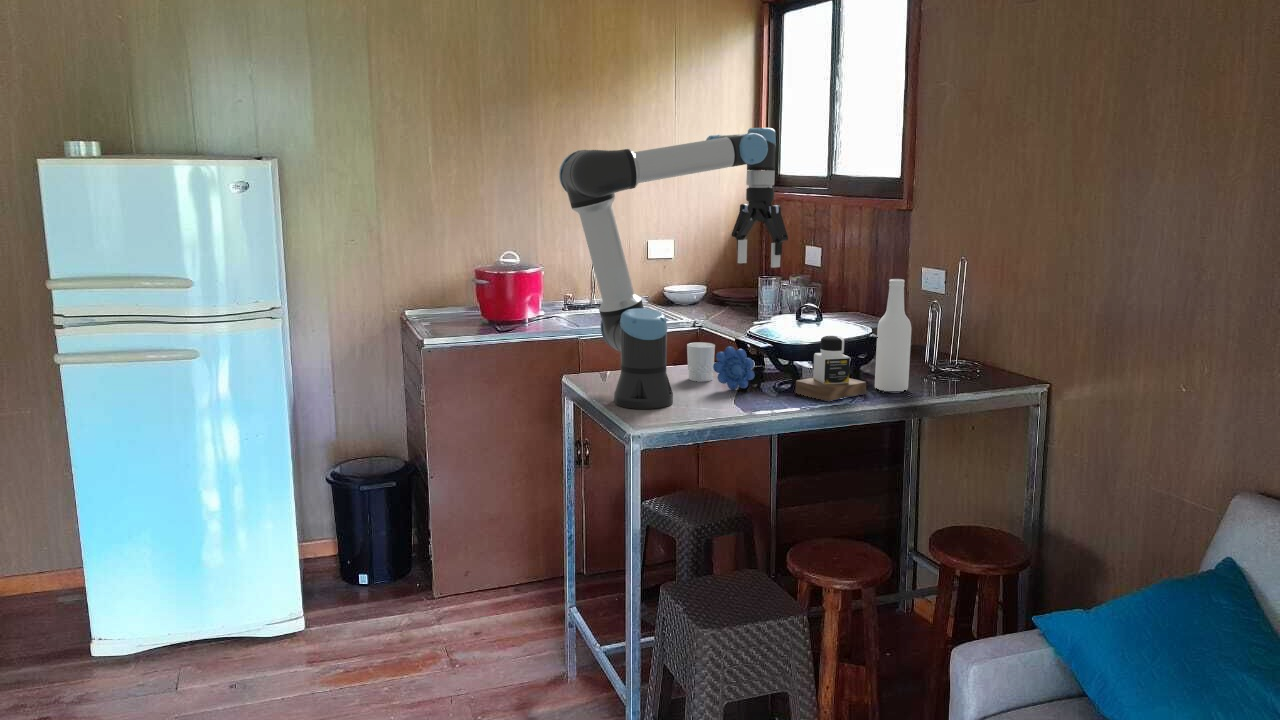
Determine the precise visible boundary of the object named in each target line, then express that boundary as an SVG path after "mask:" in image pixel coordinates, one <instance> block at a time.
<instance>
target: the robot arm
mask: <svg viewBox="0 0 1280 720" xmlns="http://www.w3.org/2000/svg"><path fill="white" fill-rule="evenodd" d="M776 137H777V136H776V130H775V129H774V128H772V127H751V128H749V129H748V130H747V133H741V134H727V135H725V134H713V135H708V137H707V138H706V140H700V141H694V142H689V143H682V144H681V143H680V144H676V145H669V146H662V147H657V148H652V149H645V150H640V151H632V150H631V149H630V148H625V149H619V150H618V149H617V150H615V149H614V150H610V149H609V150H606V149H605V150H604V149H603V150H601V149H581V150H579V149H577V150H576V151H574V152H572V153H570V154H568V155H567V156H566V157H565V159H564V160H563V161H562V163H561V165H560V167H559V172H558V174H559V176H558V178H559V182H560V184H561V186H562V188H563V190H564V191H565V192H566V193H567V196H568V201H569V203H570V207H571V210H573V211H575V212H576V213H577V214H578V215H579V218H580V222H581V226H582V230H583V232H584V237H585V240H586V245H587V248H588V252H589V255H590V259H591V262H592V263H591V264H592V267H593V270H594V274H595V277H596V281H597V284H598V289H599V293H600V297H601V300H602V302H601V304H600V306H599V308H598V311H599V314H600V318H601V319H600V320H601V321H600V325H599V326H600V333H601V336H602V338H603V340H604V341H605V343H606V344H607V345H608V346H609V347H611V348H612V349H614V350H616V351H617V352H620V375H619V378H618V380H617V384H616V386H615V387H616V388H615V390H614V394H613V404H615V405H616V406H618V407H622V408H626V409H635V410H652V409H653V410H654V409H661V408H666V407H668V406H671V405H672V404H673V403H674V393H673V390H672V386H671V383H670V380H669V377H668V374H667V350H668V349H667V346H668V345H667V344H668V343H667V342H668V323H667V318H666V315H665V314H664V313H662V312H661V311H659V310H656V309H651V308H644V304H643V299H642V297H641V296H639V295H637V294H636V293H635V292H634V288H633V284H632V279H631V277H630V271H629V268H628V264H627V261H626V256H625V253H624V249H623V248H624V247H623V245H622V241H621V238H620V234H619V230H618V225H617V223H616V217H615V214H614V210H613V206H612V204H613V203H614V201H615V199H616V194H615V193H620V192H622V191H627V190H632V189H636V188H637V186H638V185H639V184H641V183H642V184H643V183H648V182H653V181H660V180H664V179H670V178H675V177H683V176H686V175H692V174H699V173H703V172H710V171H714V170H722V169H727V168H731V167H733V168H734V167H739V166H744V165H746V186H748V187H746V189H745V190H746V192H745V197H746V201H747V202H748V203H741V204H740V205H739V212H738V215H737V218H736V221H735V224H734V226H733V229H732V232H731V237H732V238H735V240H736V251H737V264H747V262H748V261H747V259H748V238H747V235H748V234H749V233H750V231H751V229H752V228H753V226H754V224H756V222H759V223H760V222H761V223H762V224H764V226H765V228H766V230H767V232H768V233H769V235H770V237H771V239H772V242H771V245H770V247H771V248H770V250H771V252H770V268H775V269H776V268H781V255H782V254H783V251H782V250H783V243H784V242H786V241H787V242H788V241H789V235H788V233H787V229H786V227H785V223H784V220H783V216H782V208H781V205H777V204H776V205H775V204H774V205H773V204H772V202H774V200H775V188H774V187H773V186H775V179H776V178H775V177H776V176H775V174H776V173H775V172H776V170H775V169H776V147H777V142H776V141H777V139H776Z"/></svg>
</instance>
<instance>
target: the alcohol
mask: <svg viewBox="0 0 1280 720" xmlns="http://www.w3.org/2000/svg"><path fill="white" fill-rule="evenodd" d="M888 282H889V284H888V288H889V289H888V297H887V303H886V311H885V313H884V314H883V316H881V318H880V319H879V320H878V324H877V331H876V335H877V336H876V351H875V369H874V370H875V371H874V374H875V375H874V388H875V389H876V388H877V389H879V390H884V391H904V390H906V391H907V390H908V389H909V380H910V379H909V378H910V377H909V376H910V360H911V347H912V346H911V345H912V343H911V342H912V341H911V340H912V330H913V329H912V324H911V321H910V319H909V318H908V316H907V315H906V312H905V283H906V282H905V279H902V278H890V279H889V280H888ZM877 337H878V338H877Z"/></svg>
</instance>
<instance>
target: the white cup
mask: <svg viewBox="0 0 1280 720" xmlns="http://www.w3.org/2000/svg"><path fill="white" fill-rule="evenodd" d="M686 350H687V351H686V353H687V354H686V355H687V357H686V358H687V370H688V380H689V381H692V382H696V381H697V382H699V383H701V382H702V383H704V382H705V383H706V382H710V381H713V377H714V376H713V373H714V368H713V365H714V363H715V350H716V344H714V343H711V342H701V341H700V342H699V341H698V342H690V343H687V344H686Z"/></svg>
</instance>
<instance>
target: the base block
mask: <svg viewBox="0 0 1280 720" xmlns="http://www.w3.org/2000/svg"><path fill="white" fill-rule="evenodd" d="M796 393H797V394H796ZM863 393H866V394H867V382H866V381H863V380H860V379H856V378H855V379H854V378H850V377H849V383H843V384H826V385H824V384H822V383H820V382H818V381H816V380H814V379H813V377H808V378H802V379H797V380H795V394H796V395H800V394H801V395H800V396H803V395H804V396H805V397H807V396H808V398H811V397H812V399H814V398H816V400H818V399H821V400H820V401H822V400H826V401H831V400H836V399H840V398H844V397H849V396H854V395H858V394H863Z"/></svg>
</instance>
